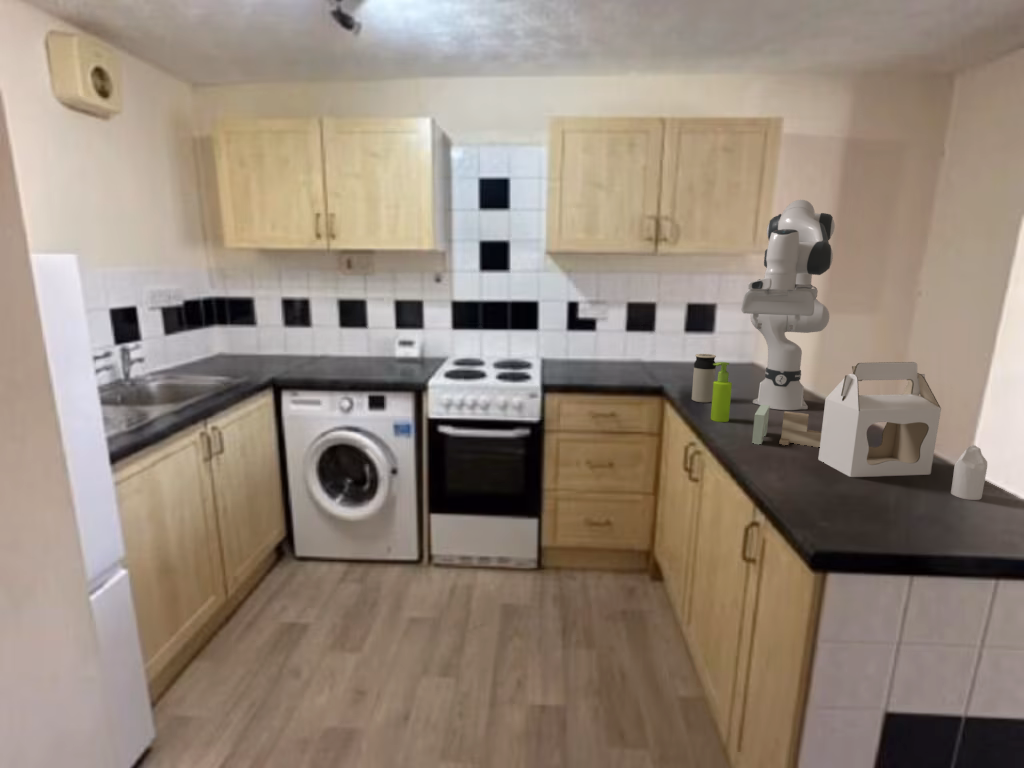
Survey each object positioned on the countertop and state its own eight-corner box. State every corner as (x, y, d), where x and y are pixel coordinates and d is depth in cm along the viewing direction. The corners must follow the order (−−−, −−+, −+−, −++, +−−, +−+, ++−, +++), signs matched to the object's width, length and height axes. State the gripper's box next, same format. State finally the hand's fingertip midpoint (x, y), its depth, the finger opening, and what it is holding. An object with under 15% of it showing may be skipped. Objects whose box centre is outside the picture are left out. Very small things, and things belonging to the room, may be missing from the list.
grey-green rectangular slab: (758, 431, 179) (761, 404, 178) (766, 432, 178) (769, 405, 176) (752, 443, 168) (754, 414, 166) (761, 444, 166) (763, 415, 165)
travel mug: (714, 403, 216) (718, 357, 212) (692, 402, 217) (696, 356, 214) (711, 398, 223) (715, 353, 220) (690, 397, 225) (693, 353, 221)
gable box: (892, 457, 156) (907, 357, 150) (931, 474, 143) (949, 366, 137) (816, 459, 154) (828, 358, 148) (849, 477, 141) (864, 367, 135)
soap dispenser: (704, 418, 195) (708, 361, 190) (720, 416, 197) (725, 360, 193) (716, 423, 189) (720, 364, 185) (732, 421, 192) (737, 363, 187)
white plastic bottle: (971, 449, 125) (951, 442, 130) (962, 500, 127) (943, 490, 133) (998, 449, 125) (976, 441, 131) (988, 500, 128) (968, 490, 133)
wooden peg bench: (781, 437, 173) (784, 409, 172) (851, 447, 164) (855, 417, 162) (779, 444, 167) (782, 415, 165) (851, 455, 158) (855, 424, 156)
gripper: (818, 284, 169) (813, 330, 171) (745, 283, 179) (741, 327, 181) (817, 284, 163) (812, 332, 166) (742, 283, 173) (738, 328, 176)
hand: (775, 329), depth 174 cm, fingers open, 8 cm apart
